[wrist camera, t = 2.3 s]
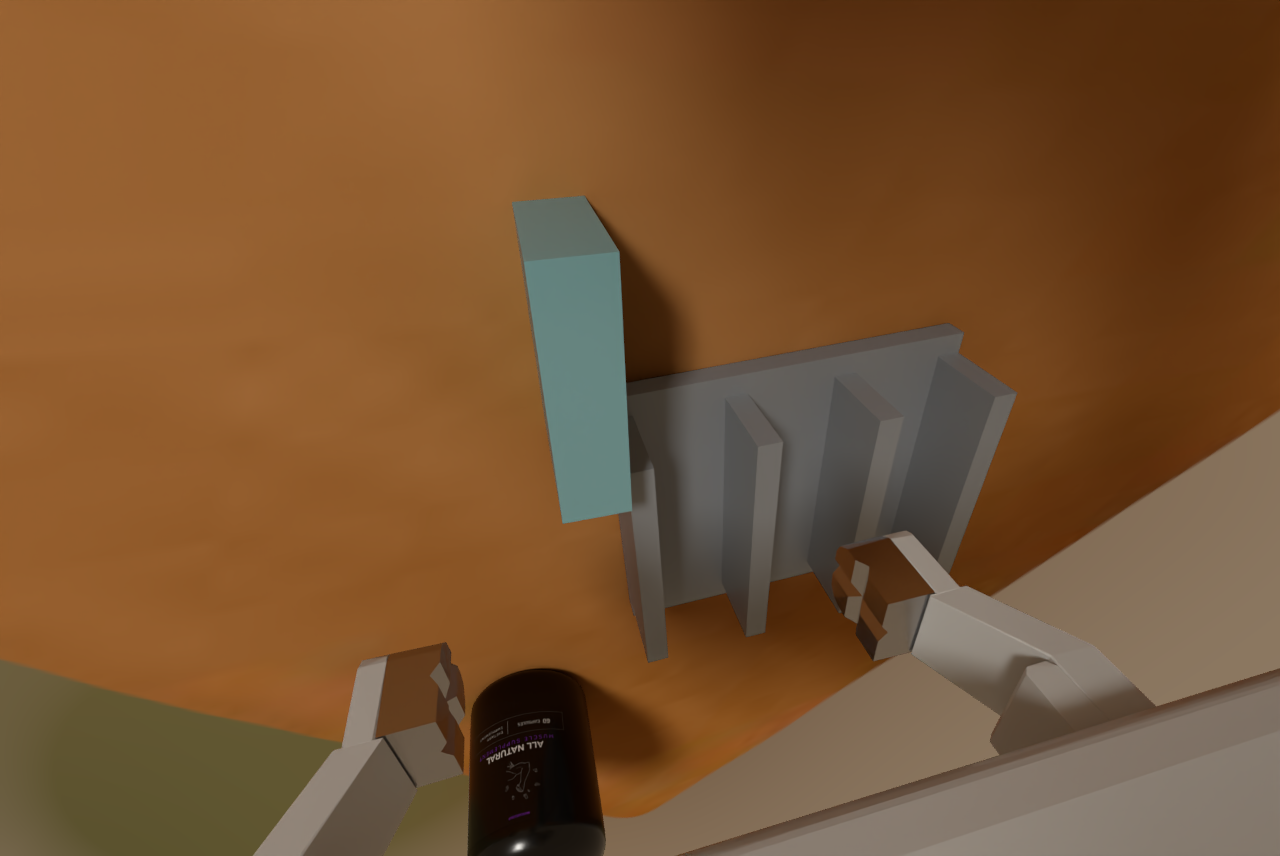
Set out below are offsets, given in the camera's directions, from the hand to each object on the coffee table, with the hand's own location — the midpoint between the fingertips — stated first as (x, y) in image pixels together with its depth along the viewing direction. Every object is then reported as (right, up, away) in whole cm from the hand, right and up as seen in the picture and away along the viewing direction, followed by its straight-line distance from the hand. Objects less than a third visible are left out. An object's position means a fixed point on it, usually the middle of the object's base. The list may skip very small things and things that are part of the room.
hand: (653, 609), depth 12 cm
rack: (+6, +1, +17) cm, 18 cm away
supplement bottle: (-7, -13, +23) cm, 28 cm away
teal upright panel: (-3, +8, +10) cm, 13 cm away
